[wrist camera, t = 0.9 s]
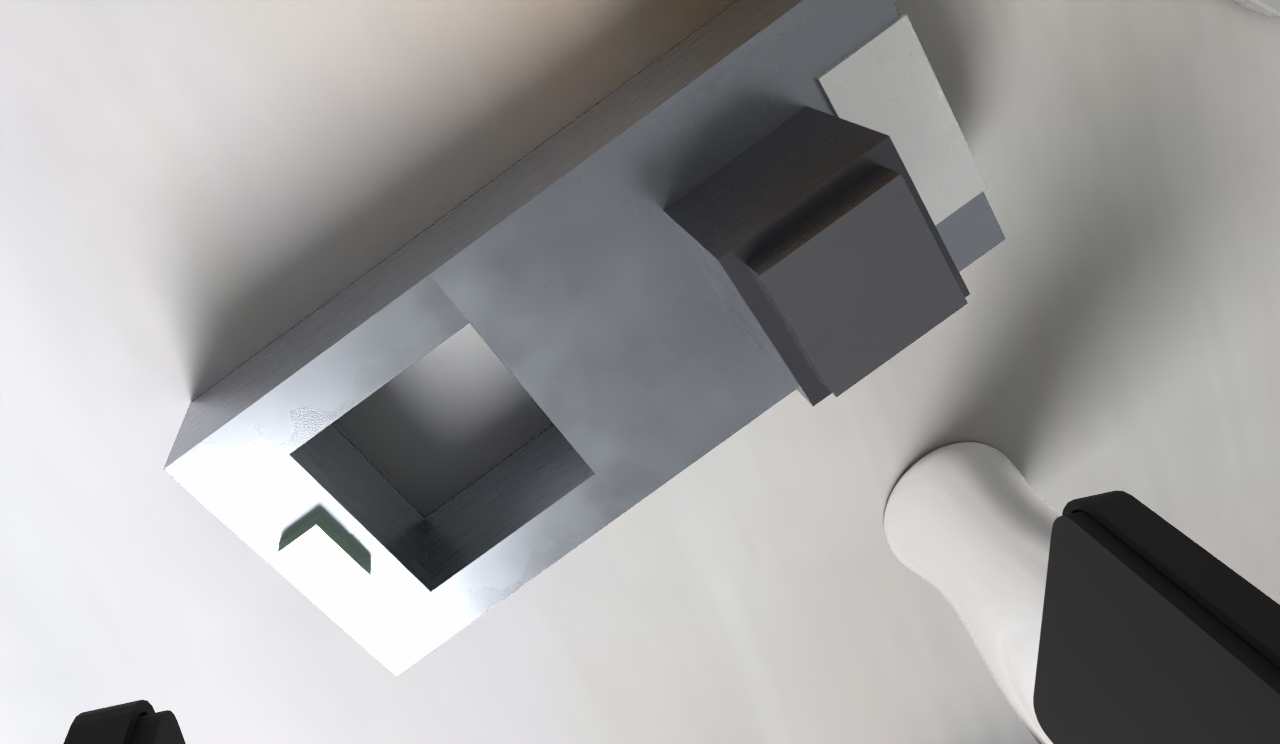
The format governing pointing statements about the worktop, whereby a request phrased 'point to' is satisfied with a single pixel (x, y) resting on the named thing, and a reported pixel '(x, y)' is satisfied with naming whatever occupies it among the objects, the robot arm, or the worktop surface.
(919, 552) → the beer glass
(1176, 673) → the robot arm
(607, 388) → the power strip
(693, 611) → the worktop surface
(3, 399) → the worktop surface
